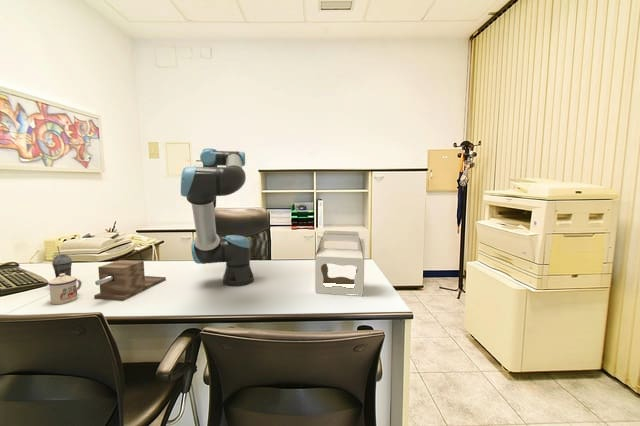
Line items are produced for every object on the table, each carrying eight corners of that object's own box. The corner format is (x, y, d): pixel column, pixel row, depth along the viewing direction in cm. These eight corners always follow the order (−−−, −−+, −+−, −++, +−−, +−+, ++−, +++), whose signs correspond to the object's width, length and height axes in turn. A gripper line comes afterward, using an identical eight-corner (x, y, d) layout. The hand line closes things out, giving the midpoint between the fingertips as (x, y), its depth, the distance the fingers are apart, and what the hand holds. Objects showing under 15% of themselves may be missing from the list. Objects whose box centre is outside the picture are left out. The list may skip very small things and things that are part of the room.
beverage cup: (77, 285, 143) (74, 244, 141) (59, 290, 137) (55, 247, 135) (69, 282, 146) (65, 243, 144) (51, 287, 140) (47, 246, 138)
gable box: (314, 293, 135) (314, 232, 132) (319, 283, 148) (319, 228, 145) (363, 296, 131) (364, 234, 128) (364, 286, 144) (365, 229, 141)
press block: (141, 278, 154) (139, 253, 152) (165, 280, 151) (164, 254, 150) (94, 298, 127) (92, 268, 126) (123, 300, 125) (120, 269, 123)
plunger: (132, 273, 142) (131, 261, 142) (143, 274, 142) (142, 262, 141) (91, 289, 121) (90, 275, 121) (104, 290, 120) (103, 276, 120)
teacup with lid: (62, 305, 120) (59, 278, 118) (44, 303, 122) (41, 276, 120) (90, 294, 131) (88, 269, 130) (73, 293, 133) (71, 268, 132)
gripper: (221, 177, 159) (222, 220, 161) (214, 177, 169) (215, 218, 172) (206, 177, 154) (208, 221, 157) (200, 177, 165) (202, 219, 167)
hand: (212, 219), depth 164 cm, fingers closed
